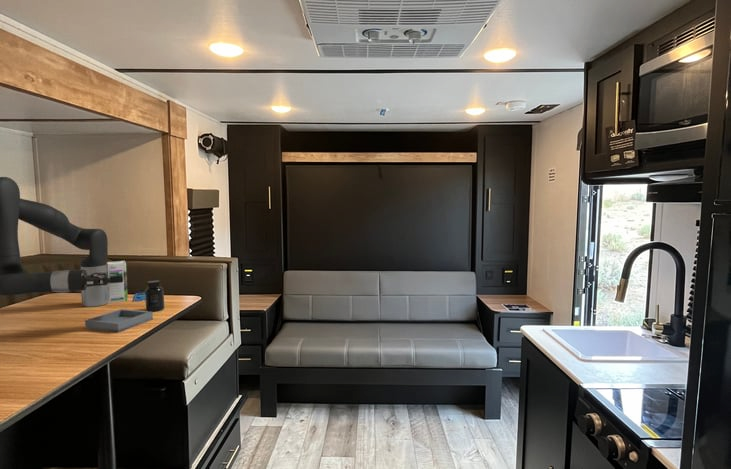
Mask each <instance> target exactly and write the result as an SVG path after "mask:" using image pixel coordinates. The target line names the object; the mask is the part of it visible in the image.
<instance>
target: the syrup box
mask: <svg viewBox="0 0 731 469" xmlns="http://www.w3.org/2000/svg"><path fill="white" fill-rule="evenodd" d="M106 267H107V277H108V276H109V277H114V276H123V282H120V283H111V282H110V284H108V296H109V304H113V303H122V302H128V301H129V298H128V296H129V295H128V275H127V263H126V261H125V260H119V261H106Z"/></svg>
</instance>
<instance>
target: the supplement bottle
mask: <svg viewBox="0 0 731 469" xmlns="http://www.w3.org/2000/svg"><path fill="white" fill-rule="evenodd" d="M146 284H147V285H146V287H147V288H146V289H145V290H144V293H145V300H144V301H145V311H149V312H152V313H155V312H159V311H160V312H161V311H163V310H164V309H165V295H164V293H165V292H164V288H163V287H162V286H161V280H149V281H146Z"/></svg>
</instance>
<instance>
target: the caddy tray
mask: <svg viewBox="0 0 731 469" xmlns="http://www.w3.org/2000/svg"><path fill="white" fill-rule="evenodd" d="M153 315H154V314H153V312H149V311H147V310H137V309H127V308H121V309H116V310H113V311H111V312H108V313H104V314H100V315H98V316H97V315H96V316H95V317H91V318H88V319H85V320H84V322H85V323H84V324H85V329H87V330H96V331H104V332H113V333H120V332H123V331H125V330H129V329H132V328H133V327H137V326H139V325H142V324H145V323H147V322H150V321H152V320H154V319H153V318H154V316H153Z"/></svg>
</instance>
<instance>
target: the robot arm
mask: <svg viewBox="0 0 731 469" xmlns="http://www.w3.org/2000/svg"><path fill="white" fill-rule="evenodd" d="M19 220H20V221H21V222H23V223H27V224H28V225H31V226H33V227H34V228H37V229H39V230H41V231H44V232H46V233H48V234H51V235H53V236H55V237H57V238H60V239H62V240H64V241H66V242H68V243H69V244H70V245H72V246H74V247H75V248H78V249H80V250H84V251H89V253H88V256H87V257H85V258H82V259H81V260H80V269H68V270H67V269H66V270H64V269H63V270H56V271H44V272H43V271H42V272H36V273H25V269H24V266H23V264H22V261H21V252H20V244H19V235H18V234H19V232H18V231H19V229H18V228H19ZM108 244H109V242H108V236H107V233H106V231H105V230H103V229H101V228H83V227H79V226H77V225H75V224H73V223H71V222H70V219H69V218H68V217H67V215H66V214H65V213H63V212H62V211H60V210H59V209H57V208H55V207H54V206H51V205H49V204H46V203H42V202H38V201H33V200H31V199H25V198H21V191H20V187H19V185H18V184H17V182H16V181H15V180H14V179H12V178H11V177H7V176H0V296H4V297H7V296H17V295H25V294H33V293H36V294H37V293H41V294H43V293H66V292H69V293H70V292H80V294H81V295H80V296H81V306H83V307H99V306H104V305H108V304H110V302H109V296H108V284H110V282H111V283H120V282H123V276H114V277H109V276H108V277H107V260H108V257H109V256H108V255H109V253H108V252H109V251H108V250H109V249H108V248H109V247H108V246H109V245H108Z"/></svg>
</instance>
